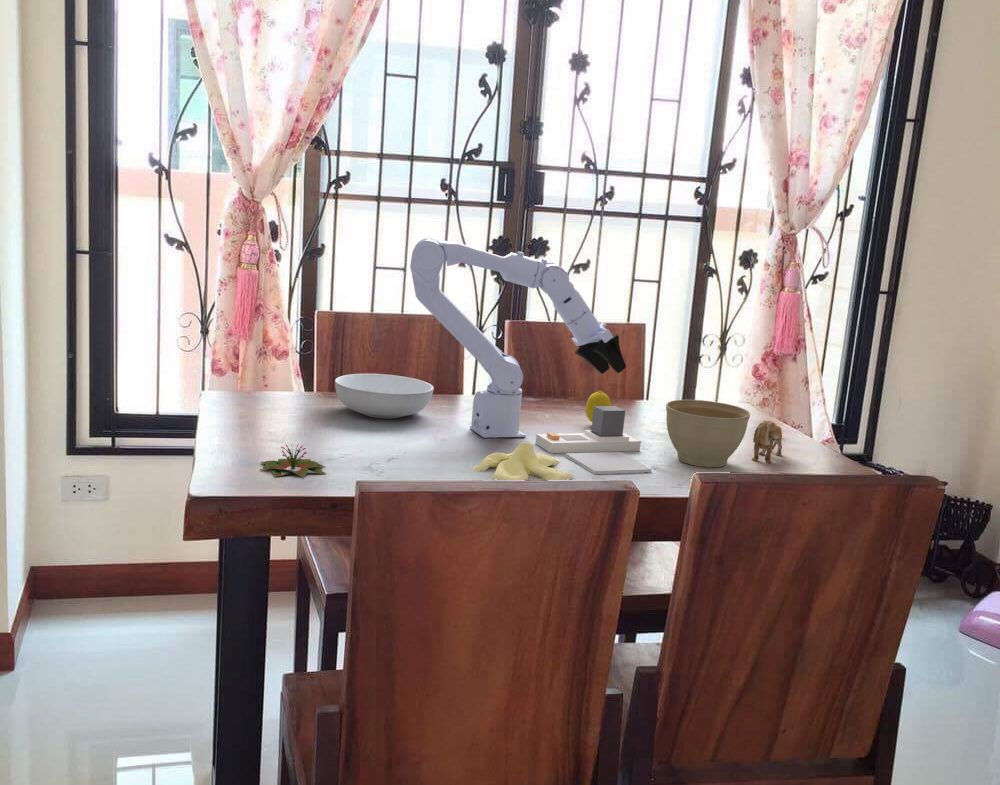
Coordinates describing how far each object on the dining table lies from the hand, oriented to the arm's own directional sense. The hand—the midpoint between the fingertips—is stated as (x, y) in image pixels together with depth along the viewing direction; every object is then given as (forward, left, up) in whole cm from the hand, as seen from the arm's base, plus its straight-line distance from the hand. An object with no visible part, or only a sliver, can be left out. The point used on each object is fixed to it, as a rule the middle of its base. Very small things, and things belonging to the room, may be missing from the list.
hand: (613, 370), depth 206 cm
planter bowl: (+12, -17, -15) cm, 26 cm away
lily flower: (-68, -14, -16) cm, 71 cm away
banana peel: (-29, -19, -16) cm, 38 cm away
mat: (-9, -17, -15) cm, 24 cm away
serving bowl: (-41, +25, -15) cm, 50 cm away
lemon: (+4, +12, -15) cm, 20 cm away
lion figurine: (+29, -16, -15) cm, 36 cm away
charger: (-3, -5, -13) cm, 14 cm away
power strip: (-7, -5, -15) cm, 17 cm away
